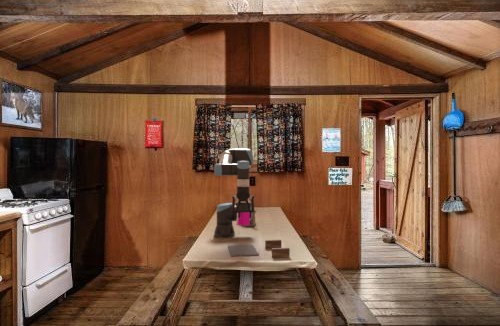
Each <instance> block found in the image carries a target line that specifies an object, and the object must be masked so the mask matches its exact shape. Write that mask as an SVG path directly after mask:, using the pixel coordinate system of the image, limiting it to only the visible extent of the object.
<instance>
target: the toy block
mask: <svg viewBox="0 0 500 326" xmlns="http://www.w3.org/2000/svg"><path fill="white" fill-rule="evenodd" d="M235 224H236V223H235ZM242 225H250V213H249V212H243V213H240V218H238V224H236V226H242Z"/></svg>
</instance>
